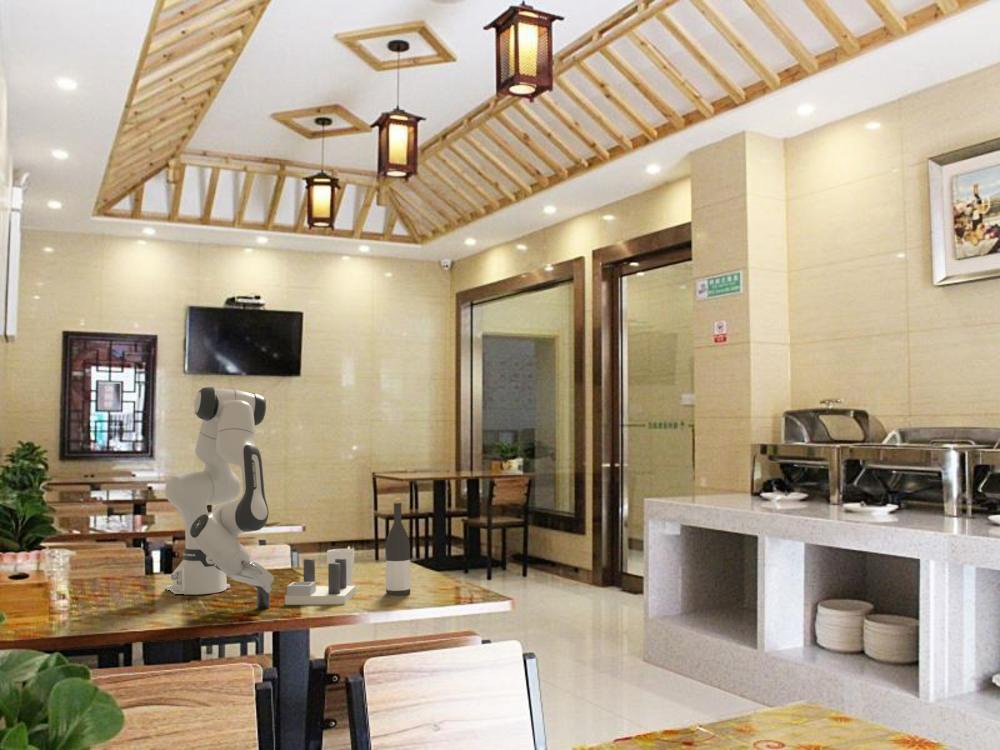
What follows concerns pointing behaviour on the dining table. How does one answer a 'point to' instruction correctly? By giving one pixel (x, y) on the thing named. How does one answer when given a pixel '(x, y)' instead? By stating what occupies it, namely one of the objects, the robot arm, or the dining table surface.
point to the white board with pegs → (321, 594)
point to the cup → (349, 557)
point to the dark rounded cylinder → (262, 599)
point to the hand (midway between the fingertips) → (265, 590)
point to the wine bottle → (397, 556)
